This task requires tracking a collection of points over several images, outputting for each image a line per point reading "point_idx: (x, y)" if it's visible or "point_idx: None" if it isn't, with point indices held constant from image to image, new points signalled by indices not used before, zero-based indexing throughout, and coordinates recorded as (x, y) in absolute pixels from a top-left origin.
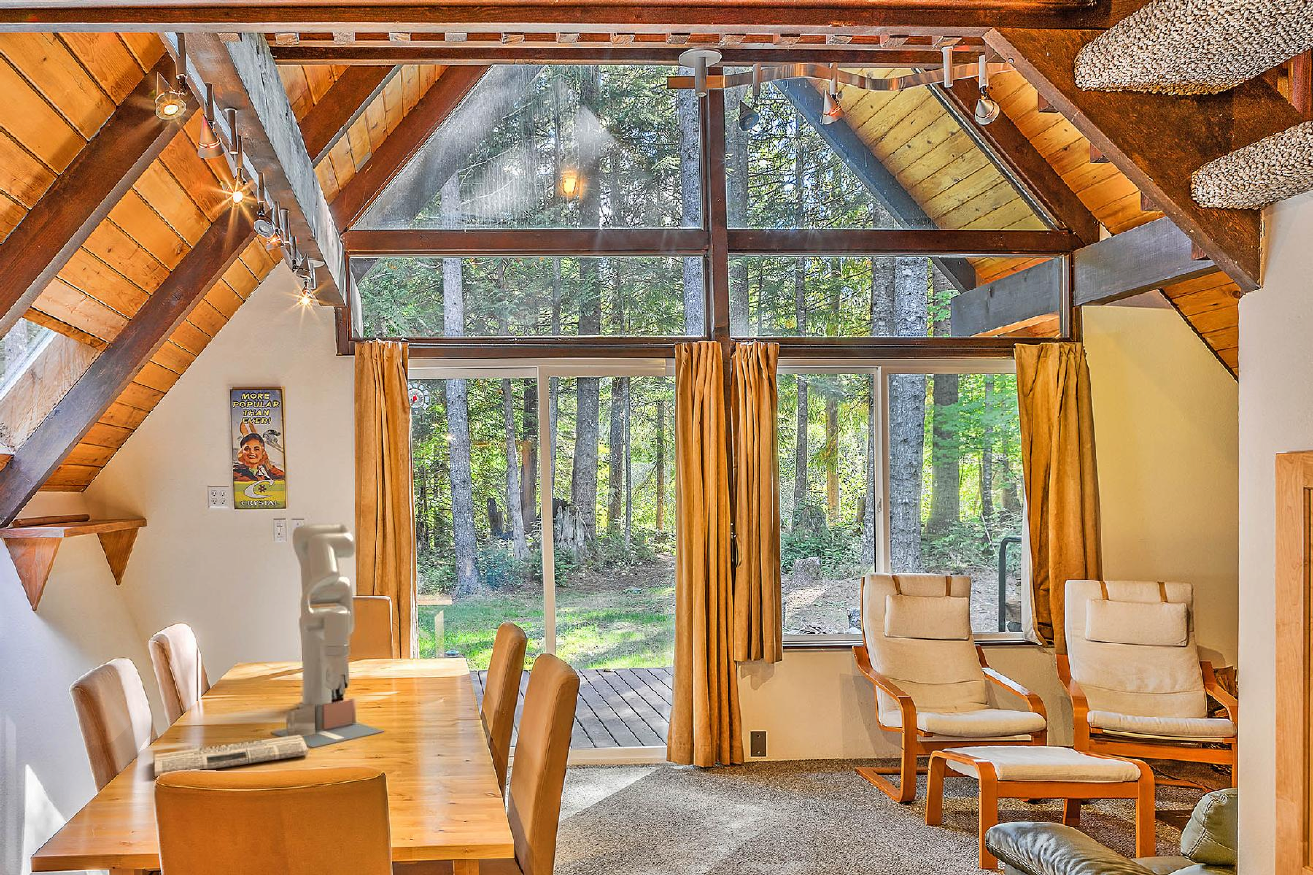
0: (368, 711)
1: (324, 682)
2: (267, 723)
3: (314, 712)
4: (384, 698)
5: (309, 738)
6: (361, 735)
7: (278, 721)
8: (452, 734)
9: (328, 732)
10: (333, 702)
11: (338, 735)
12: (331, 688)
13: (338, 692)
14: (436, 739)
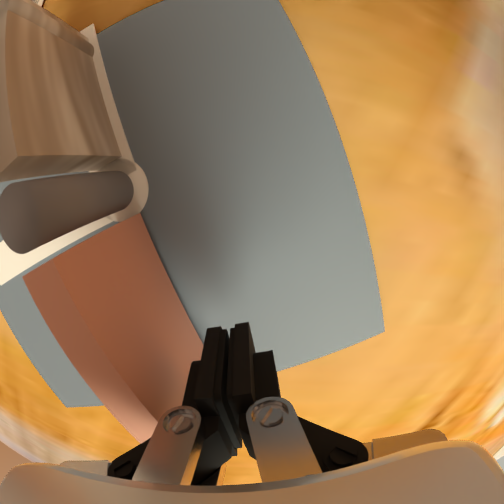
0: (405, 411)
1: (445, 500)
2: (454, 28)
3: (17, 175)
4: (481, 417)
5: None
6: (22, 341)
7: (471, 71)
8: (47, 459)
9: (74, 238)
10: (114, 374)
11: (27, 272)
12: (50, 479)
13: (106, 475)
14: (15, 431)
